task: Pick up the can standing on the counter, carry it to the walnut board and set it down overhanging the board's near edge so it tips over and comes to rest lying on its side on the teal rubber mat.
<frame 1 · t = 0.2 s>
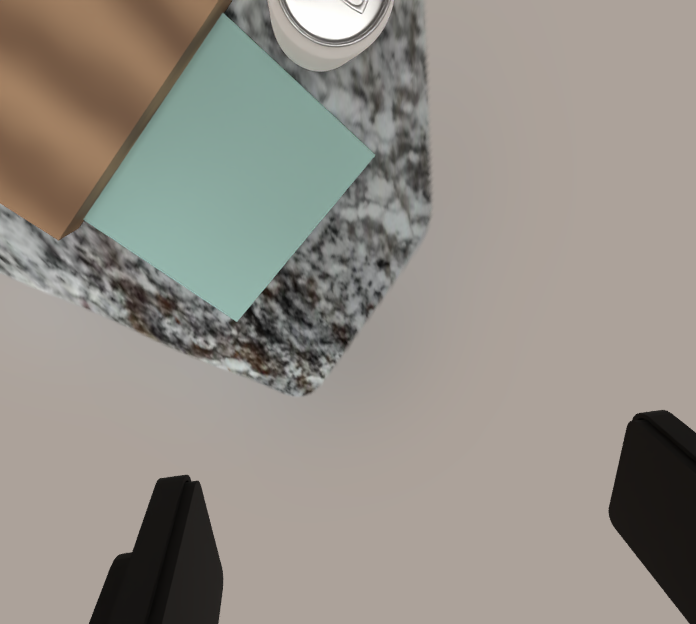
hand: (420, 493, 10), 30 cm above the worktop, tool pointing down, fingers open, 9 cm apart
can: (318, 20, 32), on the worktop
mat: (231, 186, 36), on the worktop
board: (70, 59, 31), on the worktop
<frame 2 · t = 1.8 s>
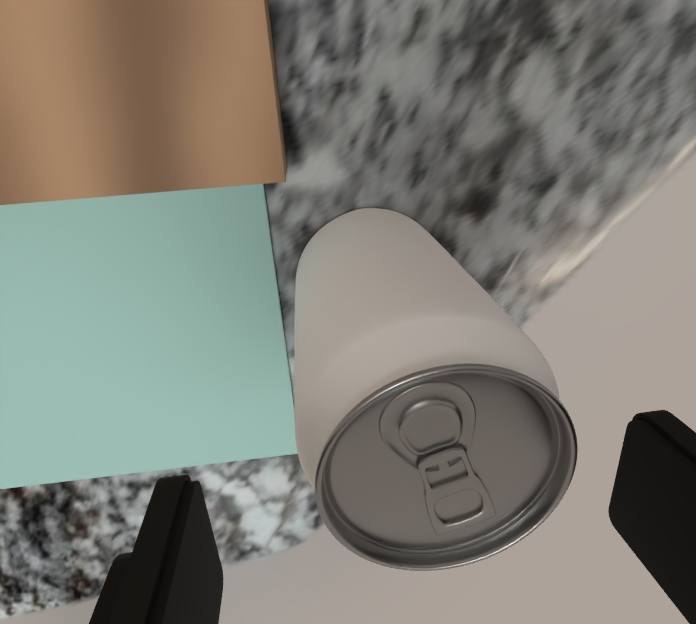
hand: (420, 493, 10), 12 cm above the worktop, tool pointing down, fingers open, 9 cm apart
can: (368, 276, 21), on the worktop
mat: (79, 348, 21), on the worktop
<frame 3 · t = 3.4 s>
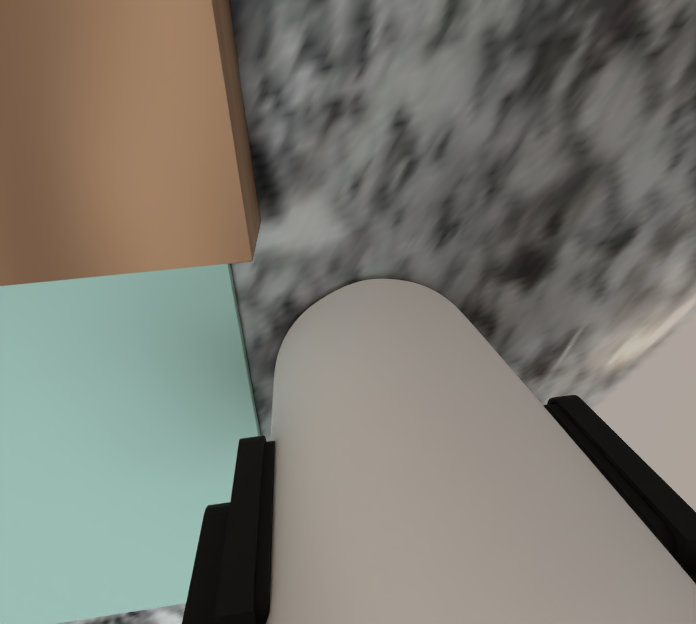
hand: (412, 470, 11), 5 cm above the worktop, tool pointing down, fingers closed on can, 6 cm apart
can: (374, 365, 15), on the worktop, touching gripper
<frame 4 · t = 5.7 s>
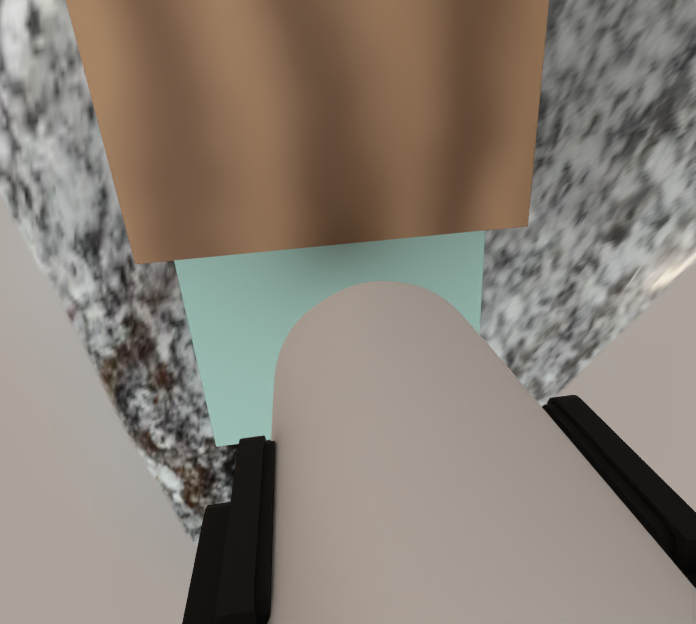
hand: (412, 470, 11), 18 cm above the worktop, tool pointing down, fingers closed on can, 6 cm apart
can: (375, 367, 15), point 13 cm above the worktop, touching gripper
mat: (340, 336, 30), on the worktop
board: (323, 115, 24), on the worktop
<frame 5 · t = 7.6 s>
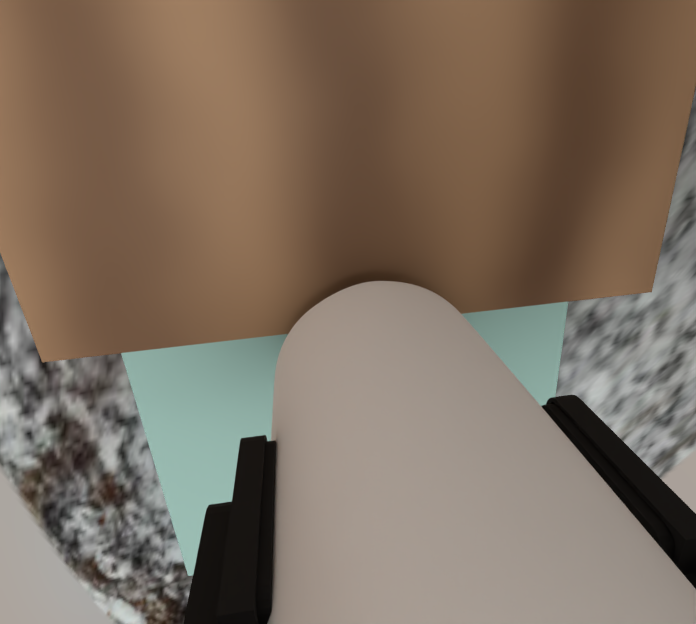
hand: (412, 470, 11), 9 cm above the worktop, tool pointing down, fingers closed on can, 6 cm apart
can: (374, 367, 15), point 4 cm above the worktop, touching gripper
mat: (360, 431, 21), on the worktop
board: (339, 123, 16), on the worktop
when the fingers open (9 cm above the worktop, at t = 7.9 s): can moves 5 cm, resting on mat.
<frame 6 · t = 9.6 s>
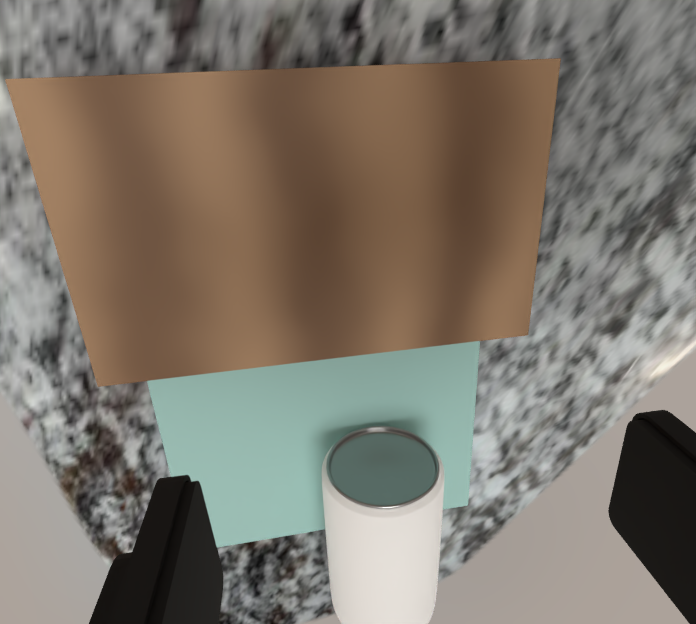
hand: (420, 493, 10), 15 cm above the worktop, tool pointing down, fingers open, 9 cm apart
can: (382, 458, 24), point 4 cm above the worktop, touching mat
mat: (326, 435, 28), on the worktop
board: (309, 215, 22), on the worktop
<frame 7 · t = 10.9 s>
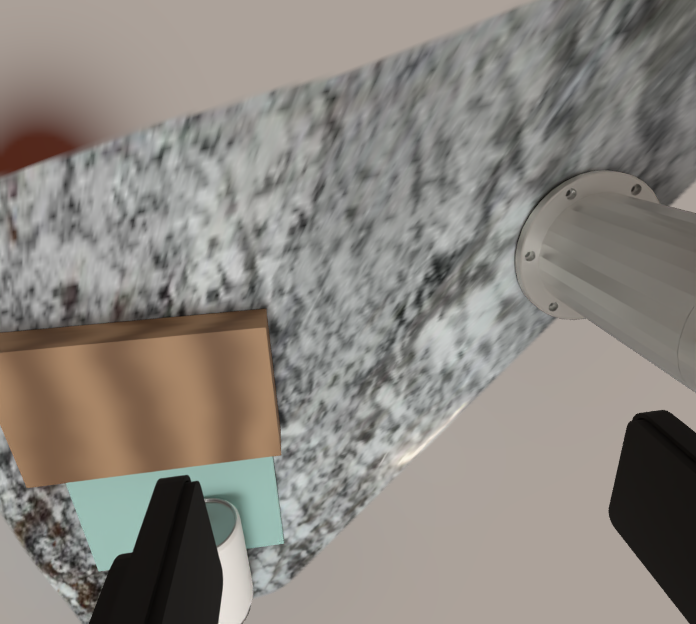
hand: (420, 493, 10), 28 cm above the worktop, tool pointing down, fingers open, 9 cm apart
can: (201, 522, 41), point 4 cm above the worktop, touching mat
mat: (181, 501, 44), on the worktop
board: (152, 385, 39), on the worktop
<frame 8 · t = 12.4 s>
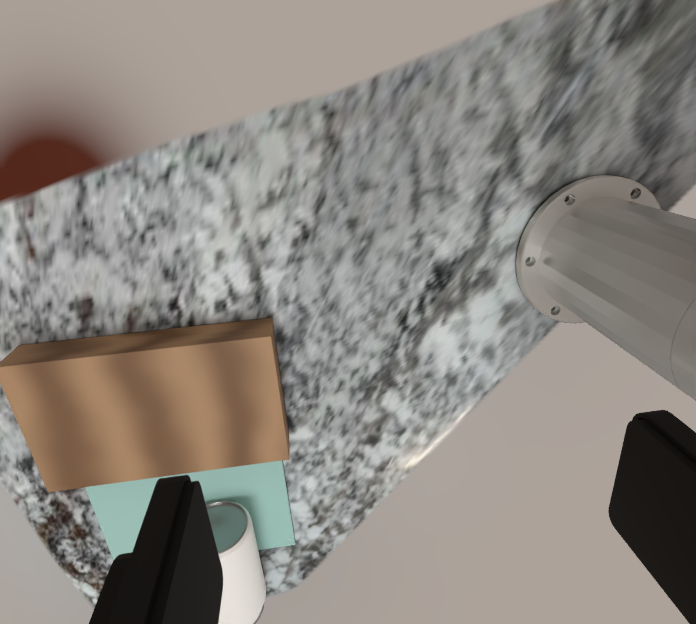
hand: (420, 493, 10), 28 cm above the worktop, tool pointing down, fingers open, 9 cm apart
can: (214, 524, 42), point 4 cm above the worktop, touching mat
mat: (195, 504, 46), on the worktop
board: (165, 393, 40), on the worktop
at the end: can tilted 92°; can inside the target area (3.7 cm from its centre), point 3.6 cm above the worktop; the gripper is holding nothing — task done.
